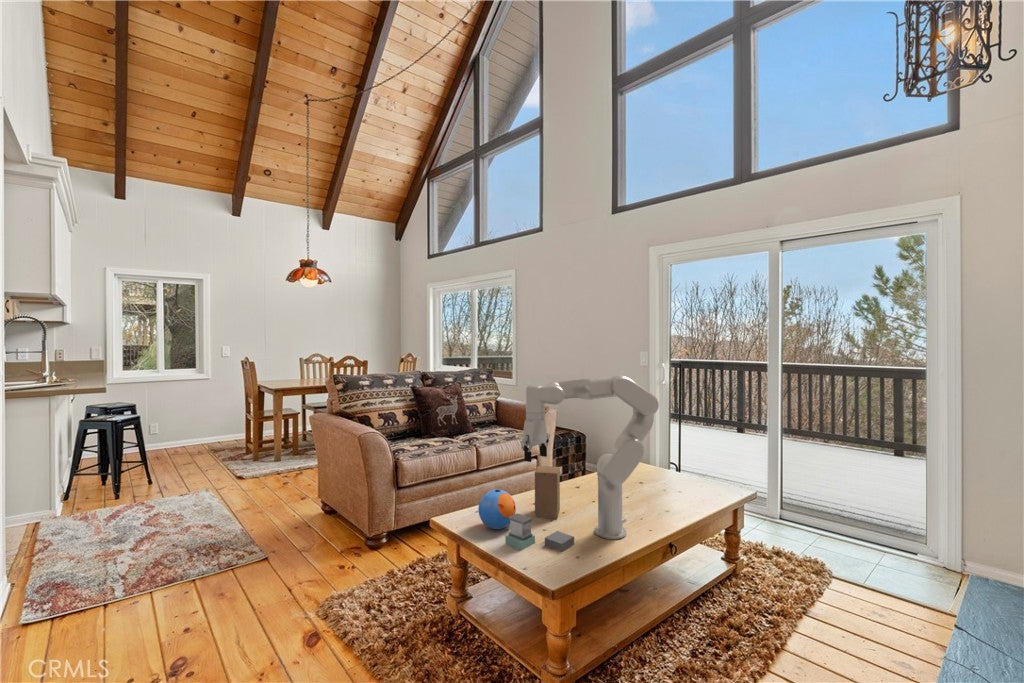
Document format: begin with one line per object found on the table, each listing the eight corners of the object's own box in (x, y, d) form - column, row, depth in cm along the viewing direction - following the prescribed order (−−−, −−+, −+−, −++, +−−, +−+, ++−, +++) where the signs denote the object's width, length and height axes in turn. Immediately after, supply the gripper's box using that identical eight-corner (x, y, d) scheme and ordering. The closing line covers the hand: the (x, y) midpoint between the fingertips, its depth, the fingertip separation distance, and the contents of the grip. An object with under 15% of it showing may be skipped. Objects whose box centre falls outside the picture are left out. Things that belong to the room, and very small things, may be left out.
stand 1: (519, 537, 185) (519, 529, 185) (534, 543, 180) (534, 535, 180) (505, 544, 179) (505, 536, 179) (521, 550, 174) (521, 542, 174)
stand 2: (557, 538, 184) (557, 530, 184) (574, 544, 179) (574, 536, 179) (544, 545, 178) (544, 537, 178) (561, 551, 173) (561, 543, 173)
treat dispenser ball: (495, 517, 206) (495, 482, 205) (523, 526, 196) (523, 489, 196) (470, 528, 194) (470, 491, 193) (499, 538, 184) (498, 500, 184)
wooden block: (557, 519, 203) (557, 473, 202) (534, 517, 205) (534, 472, 204) (559, 510, 213) (559, 466, 212) (538, 508, 215) (537, 465, 214)
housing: (517, 530, 184) (517, 513, 184) (532, 536, 179) (532, 518, 179) (508, 535, 180) (508, 517, 180) (523, 540, 175) (523, 522, 175)
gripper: (541, 412, 196) (541, 452, 197) (514, 418, 184) (514, 461, 184) (556, 414, 191) (556, 455, 192) (528, 420, 179) (529, 465, 179)
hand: (535, 458), depth 188 cm, fingers open, 9 cm apart
